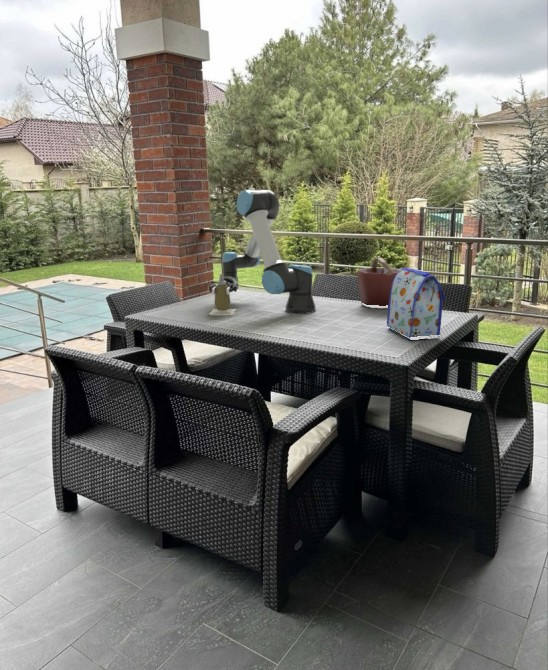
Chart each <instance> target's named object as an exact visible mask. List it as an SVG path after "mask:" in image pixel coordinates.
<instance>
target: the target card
mask: <svg viewBox="0 0 548 670" xmlns="http://www.w3.org/2000/svg"><path fill="white" fill-rule="evenodd" d="M235 311H237V308H229V309H228V310H224V311H220V310H217V309H216V308H213V309H212V310H211V311H210V312H209V313H208V316H234V315H233V314H235V313H236V312H235Z"/></svg>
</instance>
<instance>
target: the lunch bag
mask: <svg viewBox="0 0 548 670" xmlns="http://www.w3.org/2000/svg"><path fill="white" fill-rule="evenodd" d="M399 269H400V270H399V272H398V274H397V275H396V276H395V277H394V280H393V283H392V287H391V291H390V299H389V305H388V309H387V318H386V327H387V326H388V327H390V328H392V329H394V330H396V331H397V332H399V333H401V334H403V335H405V336H407V337H409V338H410V337H417V336H430V335H440V334H441V326H442V316H443V301H446V300H447V296H446V295H445V293H444V291H443V289H442V286H441V284H440V282H439V280H438V279H437V278H436V277H435V276H434V275H432V274H431V273H430V272H425V271H423V270H418V269H415V268H408V267H402V268H399Z"/></svg>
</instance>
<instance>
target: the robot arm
mask: <svg viewBox="0 0 548 670" xmlns="http://www.w3.org/2000/svg"><path fill="white" fill-rule="evenodd" d="M236 210H237V213H239V214H240V215H242V216H244V217H245V220H246V222H248V223H250V226H251V230H252V233H251V236H250V237H249V238H250V239H249V241H248V243H247V246H246V248H245V251H244V253H243V254H237V252H236V251H225V252H223V253H222V267H223V271H222V274H223V278H224V281H226V285H227V286H228V288H227V295H228V294H229V295H230V294H231V293H233V292H237V291H238V290H239V283H238V282H239V277H238V270H240V269H248V268H249V269H250V268H255V267H258V266H259V265H260V263H261V262H260V260H261V258H262V262H263V264H264V267H263V270H262V271H263V273H262V275H261V284H262V286H263V289H264V290H265V292H267V293H268V294H270V295H281V294H285V293H287V294H288V298H287V301H286V305H285V311H286V312H287V311H288V312H287V313H290V312H292V313H291V314H308V313H307V312H311V313H313V312H312V311H314V312H316V304H315V300H314V297H313V268H312V267H311V266H309V265H303V264H302V265H301V264H289V265H288V266H287V264H286V262H285V261H283V260H282V258H281V255H280V252H279V250H278V247H277V243H276V240H275V237H274V234H273V232H272V229H271V226H272V224H273V222H274V220H276V219H277V217H278V215H279V211H280V200H279V198H278V196H277V195H276V193H275V192H273V191H272V190H269V189H245V190H241V192H240V193H239V194H238V196H237V200H236ZM259 254H260V255H261V257H260V255H259ZM216 286H217V283H212V285H210V286H209V292H210V293H212V294H211V295H214V296H215V287H216Z"/></svg>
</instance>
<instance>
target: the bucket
mask: <svg viewBox="0 0 548 670" xmlns="http://www.w3.org/2000/svg"><path fill="white" fill-rule="evenodd" d="M378 263H380V264H381V265H382V267H378ZM400 269H401V268H392V267H391V266H390V265H389V264H388V263H387V261H386V260H385V259H384V258H383V257H375V258H374V259H373V260H372V263H371V267H365V268H361V269H357V270H356V278H357V284H358V288H359V296H360V301H361V304H362V303H364V304H366V305H379V306H386V305H389V299H390V291H391V287H392V283H393V280H394V277H395V276H396V275H397V274H398V272H399V270H400Z"/></svg>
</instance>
